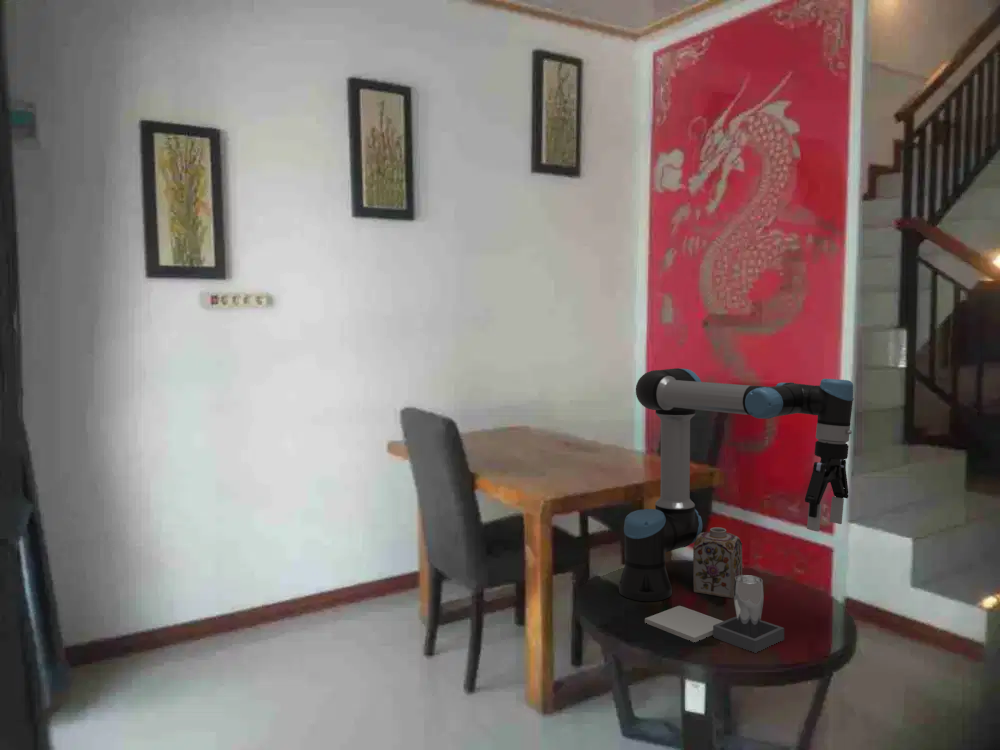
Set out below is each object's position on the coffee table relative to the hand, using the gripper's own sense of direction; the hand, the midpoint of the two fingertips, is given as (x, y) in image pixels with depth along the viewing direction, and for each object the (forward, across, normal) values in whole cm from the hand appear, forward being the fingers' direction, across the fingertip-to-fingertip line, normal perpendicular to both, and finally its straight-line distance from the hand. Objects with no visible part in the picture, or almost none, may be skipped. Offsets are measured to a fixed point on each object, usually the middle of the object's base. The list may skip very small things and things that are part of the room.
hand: (824, 526), depth 185 cm
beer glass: (+29, -14, +10) cm, 34 cm away
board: (+30, -17, +26) cm, 43 cm away
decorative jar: (+28, +12, +34) cm, 46 cm away
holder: (+29, -14, +10) cm, 34 cm away
